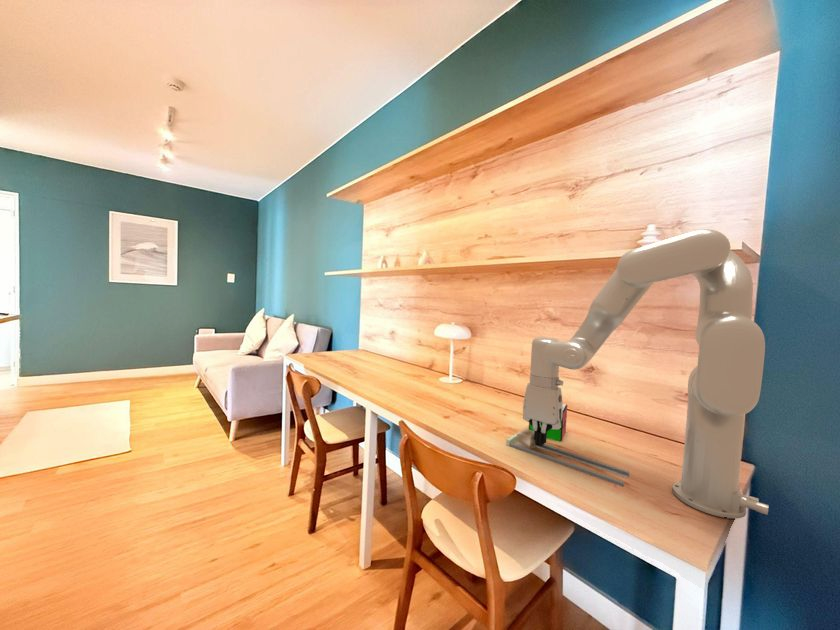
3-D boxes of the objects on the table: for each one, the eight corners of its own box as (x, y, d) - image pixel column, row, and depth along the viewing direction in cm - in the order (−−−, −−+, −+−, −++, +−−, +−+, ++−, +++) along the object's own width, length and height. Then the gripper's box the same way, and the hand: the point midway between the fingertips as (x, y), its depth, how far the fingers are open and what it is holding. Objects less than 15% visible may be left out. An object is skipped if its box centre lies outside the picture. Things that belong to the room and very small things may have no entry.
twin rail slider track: (629, 476, 85) (630, 466, 85) (621, 490, 78) (622, 480, 78) (518, 439, 105) (518, 431, 105) (504, 448, 98) (505, 440, 98)
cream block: (536, 445, 99) (537, 432, 99) (529, 451, 95) (530, 437, 95) (523, 441, 102) (524, 428, 101) (516, 446, 98) (517, 433, 98)
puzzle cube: (565, 433, 111) (567, 404, 111) (561, 444, 102) (563, 412, 102) (534, 426, 116) (536, 398, 116) (528, 436, 108) (529, 406, 107)
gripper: (575, 384, 92) (571, 448, 93) (524, 374, 102) (521, 432, 103) (566, 389, 87) (562, 457, 88) (513, 378, 97) (509, 440, 98)
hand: (539, 444), depth 96 cm, fingers closed
